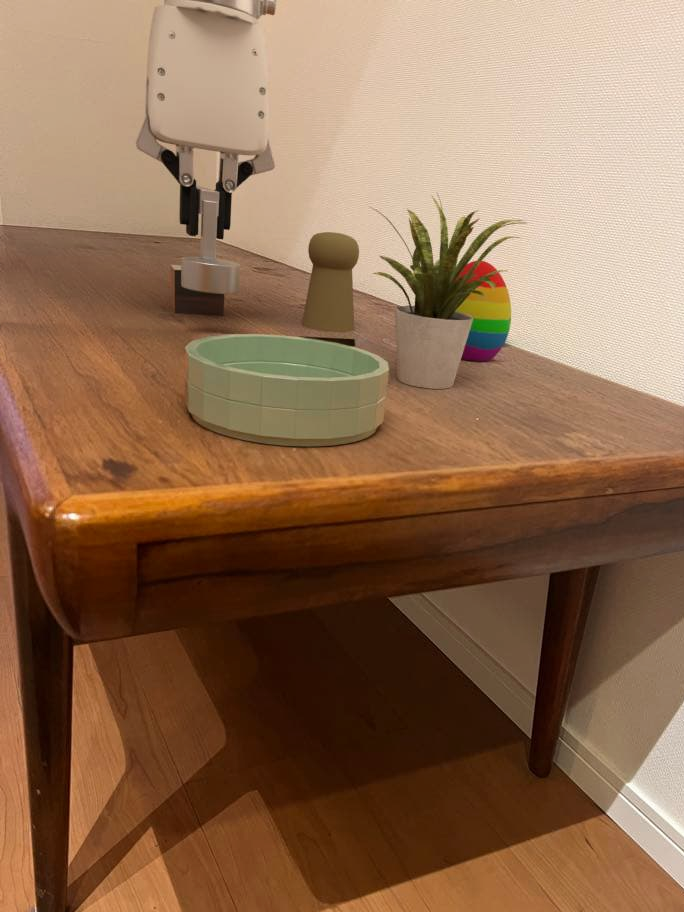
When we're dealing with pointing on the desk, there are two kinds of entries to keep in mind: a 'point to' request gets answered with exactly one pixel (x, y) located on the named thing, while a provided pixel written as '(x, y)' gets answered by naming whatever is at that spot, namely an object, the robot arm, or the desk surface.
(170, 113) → the robot arm
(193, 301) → the dark wooden cube
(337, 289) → the cork
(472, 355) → the decorative egg
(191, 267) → the silver stamp handle
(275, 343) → the bowl
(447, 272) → the house plant
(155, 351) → the desk surface
